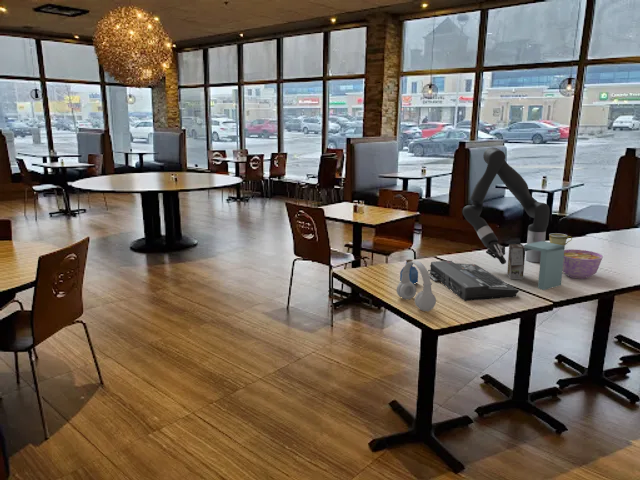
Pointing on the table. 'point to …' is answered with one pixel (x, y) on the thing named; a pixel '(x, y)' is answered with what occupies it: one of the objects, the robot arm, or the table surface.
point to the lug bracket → (548, 263)
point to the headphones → (408, 289)
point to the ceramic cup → (558, 238)
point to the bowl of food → (581, 263)
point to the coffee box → (516, 261)
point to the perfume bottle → (411, 273)
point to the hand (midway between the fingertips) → (504, 263)
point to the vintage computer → (470, 281)
